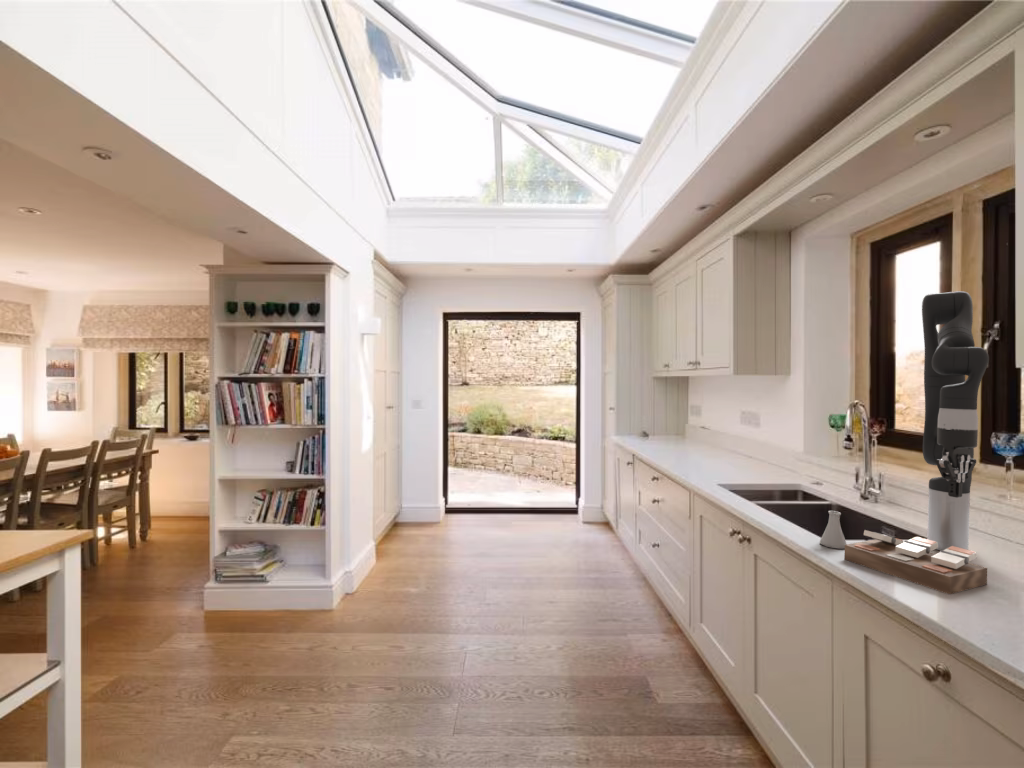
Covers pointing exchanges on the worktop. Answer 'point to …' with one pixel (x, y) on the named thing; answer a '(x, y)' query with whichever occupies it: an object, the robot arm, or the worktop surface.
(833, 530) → the flask
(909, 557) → the switch unit
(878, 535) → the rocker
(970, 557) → the rocker
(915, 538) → the rocker
